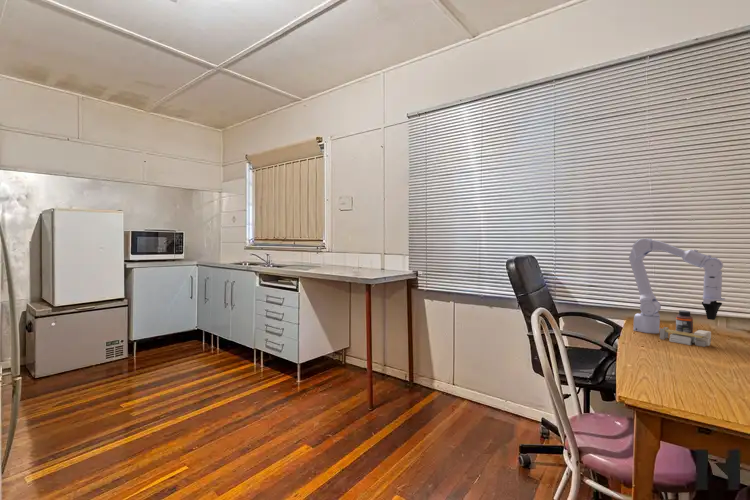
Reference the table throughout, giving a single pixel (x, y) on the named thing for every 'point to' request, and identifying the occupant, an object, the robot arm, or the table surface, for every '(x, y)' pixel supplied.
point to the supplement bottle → (684, 322)
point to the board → (665, 335)
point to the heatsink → (682, 339)
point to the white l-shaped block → (706, 336)
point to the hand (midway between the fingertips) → (711, 319)
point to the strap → (683, 333)
